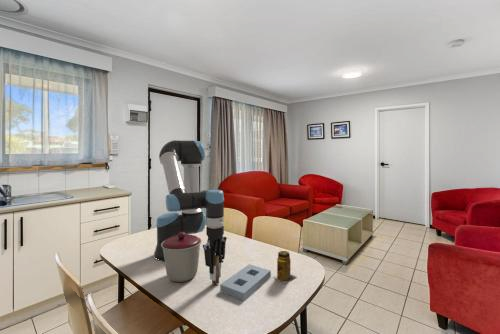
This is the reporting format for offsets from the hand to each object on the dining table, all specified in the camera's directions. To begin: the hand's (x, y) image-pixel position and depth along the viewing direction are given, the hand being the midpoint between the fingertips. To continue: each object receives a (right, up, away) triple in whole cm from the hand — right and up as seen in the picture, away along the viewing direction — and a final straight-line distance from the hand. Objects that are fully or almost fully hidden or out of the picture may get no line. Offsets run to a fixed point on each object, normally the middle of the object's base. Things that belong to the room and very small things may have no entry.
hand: (215, 278), depth 108 cm
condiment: (+32, -3, +6) cm, 32 cm away
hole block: (+14, -3, 0) cm, 14 cm away
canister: (-16, -3, +7) cm, 18 cm away
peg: (0, -2, 0) cm, 2 cm away
